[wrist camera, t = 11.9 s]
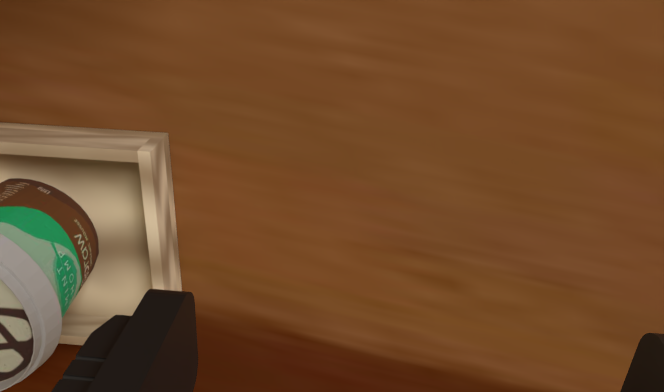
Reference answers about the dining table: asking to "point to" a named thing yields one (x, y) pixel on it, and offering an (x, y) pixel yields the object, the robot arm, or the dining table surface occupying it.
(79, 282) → the food container
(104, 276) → the whitewashed wooden tray
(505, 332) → the dining table surface
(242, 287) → the dining table surface
